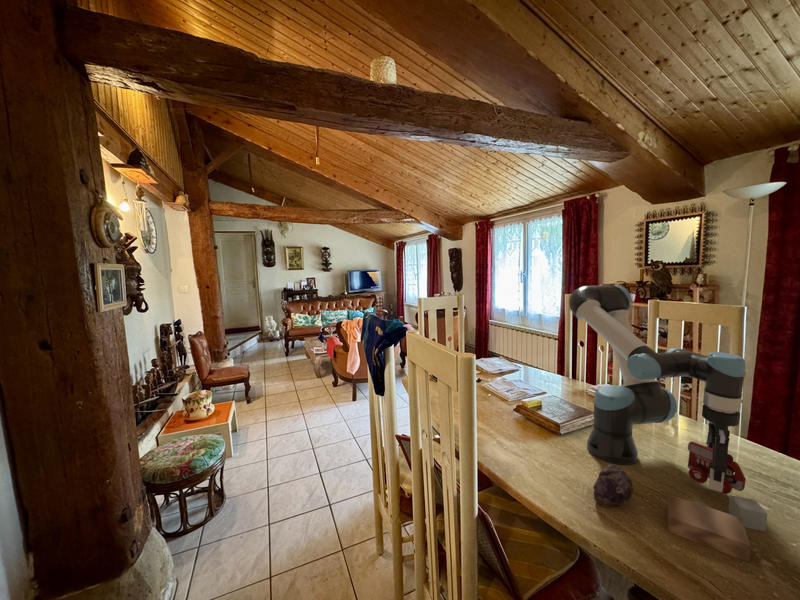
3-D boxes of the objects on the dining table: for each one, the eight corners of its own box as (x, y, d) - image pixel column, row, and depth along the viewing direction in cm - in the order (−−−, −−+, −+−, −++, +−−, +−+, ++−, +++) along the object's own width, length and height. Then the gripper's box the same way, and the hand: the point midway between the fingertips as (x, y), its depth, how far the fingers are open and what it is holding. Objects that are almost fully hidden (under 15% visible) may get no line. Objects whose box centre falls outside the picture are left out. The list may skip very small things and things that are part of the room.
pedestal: (668, 531, 81) (669, 517, 80) (667, 507, 88) (668, 494, 88) (749, 562, 72) (750, 546, 72) (740, 532, 80) (741, 517, 79)
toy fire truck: (739, 501, 87) (743, 466, 85) (681, 475, 97) (684, 444, 96) (746, 491, 90) (750, 457, 89) (690, 467, 101) (693, 436, 99)
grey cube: (739, 526, 82) (740, 508, 81) (728, 512, 86) (729, 495, 86) (765, 531, 80) (767, 513, 79) (753, 517, 84) (755, 499, 84)
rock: (587, 503, 93) (629, 522, 85) (586, 478, 91) (628, 494, 84) (599, 478, 100) (638, 493, 93) (598, 454, 99) (638, 468, 91)
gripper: (748, 427, 80) (738, 509, 83) (733, 397, 96) (725, 466, 99) (707, 418, 85) (699, 496, 88) (699, 391, 101) (692, 457, 104)
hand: (713, 480), depth 94 cm, fingers closed on toy fire truck, 8 cm apart
